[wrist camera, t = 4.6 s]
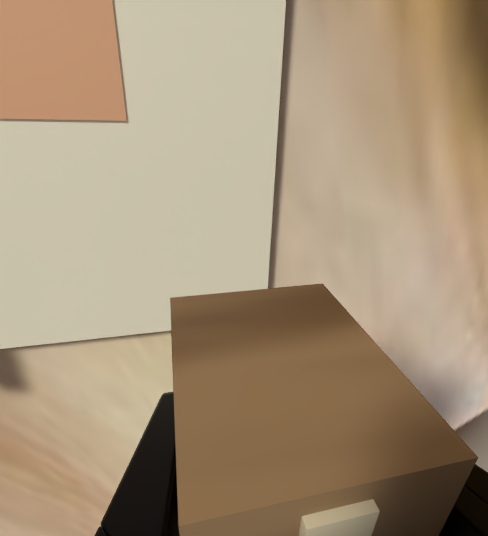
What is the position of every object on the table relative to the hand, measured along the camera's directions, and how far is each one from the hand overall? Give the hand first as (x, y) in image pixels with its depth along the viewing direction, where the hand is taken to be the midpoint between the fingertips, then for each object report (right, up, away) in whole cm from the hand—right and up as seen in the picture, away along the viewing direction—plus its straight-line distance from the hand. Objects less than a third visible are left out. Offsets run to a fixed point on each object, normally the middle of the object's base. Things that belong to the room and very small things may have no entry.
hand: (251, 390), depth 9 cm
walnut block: (0, 0, 0) cm, 0 cm away
